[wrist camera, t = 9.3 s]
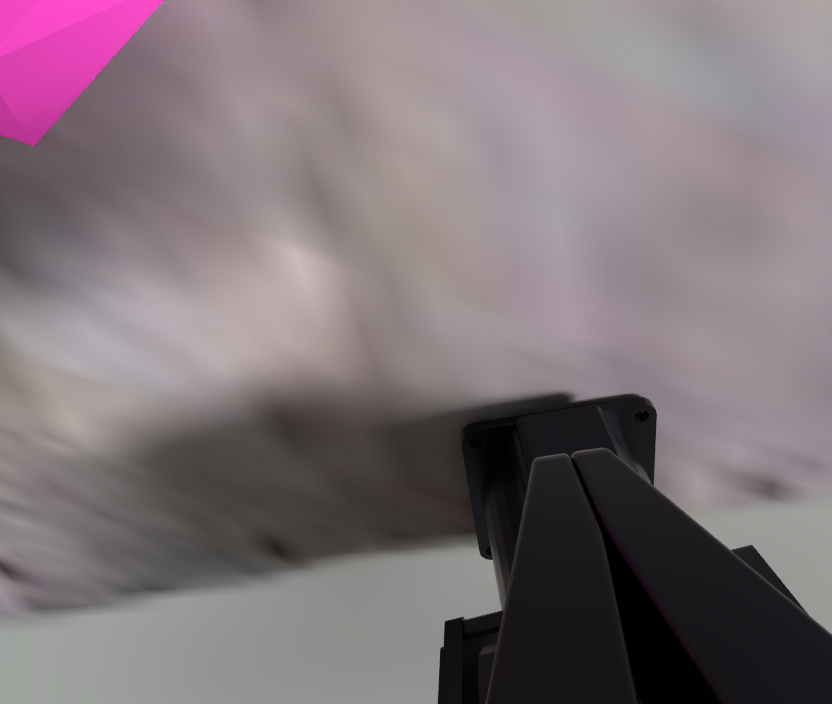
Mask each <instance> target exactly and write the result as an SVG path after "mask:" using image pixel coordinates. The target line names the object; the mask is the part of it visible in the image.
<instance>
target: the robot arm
mask: <svg viewBox="0 0 832 704" xmlns="http://www.w3.org/2000/svg"><path fill="white" fill-rule="evenodd" d="M639 411H644V412H643V413H642V414H639V415H635V414H636V413H637V412H639ZM656 418H657V414H656V410H655V408H654V406H653V404H652V402H651V401H650V400H649V399H646V398H644V397H637V398H631V399H625V400H618V401H612V402H605V403H599V404H593V405H586V406H580V407H573V408H567V409H561V410H554V411H548V412H542V413H535V414H529V415H522V416H516V417H510V418H503V419H497V420H490V421H484V422H478V423H472V424H469V425H467V426H466V427H464V428H463V430H462V431H461V443H462V449H463V455H464V461H465V467H466V473H467V479H468V485H469V491H470V497H471V503H472V509H473V515H474V521H475V527H476V533H477V539H478V545H479V551H480V554H481V556H482V557H484V558H485V559H489V560H493V563H494V568H495V575H496V580H497V585H498V592H499V597H500V603H501V608H502V611H498V612H495V613H491V614H486V615H482V616H478V617H474V618H470V619H466V620H465V619H464V617H460V618H457V619H452V620H448V621H445V630H444V647H442V648H441V650H440V669H439V670H440V671H439V691H438V704H832V634H831V633H829V632H828V631H827V630H826V629H825V628H823V627H822V626H821V625H820V624H819V623H817V622H816V621H815V620H814V619H813V618H811V617H810V616H809V615H808V614H807V612H806V611H805V610H804V609H803V608H802V606H801V605H800V604H799V602H798V601H797V600H796V599H795V597H794V596H793V595H792V594H791V593H790V591H789V590H788V589H787V588H786V586H785V585H784V584H783V583H782V581H781V580H780V579H779V578H778V576H777V575H776V574H775V573H774V572H773V570H772V569H771V568H770V567H769V565H768V564H767V563H766V562H765V560H764V559H763V558H762V557H761V555H760V554H759V553H758V552H757V550H756V549H755V548H754V547H753V546H752V545H749V546H745V547H741V548H737V549H733V550H730V549H728V548H727V547H726V546H725V545H724V544H722V543H721V542H720V541H719V540H718V539H716V538H715V537H714V536H713V535H711V534H710V533H709V532H708V531H707V530H705V529H704V528H703V527H702V526H701V525H699V524H698V523H697V522H696V521H695V520H693V519H692V518H691V517H690V516H689V515H687V514H686V513H685V512H684V511H683V510H681V509H680V508H679V507H678V506H677V505H675V504H674V503H673V502H672V501H671V500H669V499H668V498H667V497H666V496H665V495H663V494H662V493H661V492H660V491H659V490H657V489H656V488H655V487H654V464H655V441H656ZM475 436H480V437H481V438H480V439H478V440H471V438H472V437H475Z"/></svg>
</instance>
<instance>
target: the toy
mask: <svg viewBox="0 0 832 704" xmlns="http://www.w3.org/2000/svg"><path fill="white" fill-rule="evenodd" d="M163 1H164V0H0V136H3V137H6V138H9V139H12V140H15V141H18V142H21V143H25V144H28V145H31V146H35V145H36V144H37V142H38V141H39V140H40V139H41V138H42V137H43V136H44V135H45V133H46V132H47V131H48V130H49V129H50V128H51V127H52V126H53V124H54V123H55V122H56V121H57V120H58V119H59V118H60V117H61V115H62V114H63V113H64V112H65V111H66V110H67V109H68V108H69V106H70V105H71V104H72V103H73V102H74V101H75V100H76V99H77V97H78V96H79V95H80V94H81V93H82V92H83V91H84V89H85V88H86V87H87V86H88V85H89V84H90V83H91V82H92V80H93V79H94V78H95V77H96V76H97V75H98V74H99V73H100V71H101V70H102V69H103V68H104V67H105V66H106V65H107V64H108V62H109V61H110V60H111V59H112V58H113V57H114V56H115V55H116V53H117V52H118V51H119V50H120V49H121V48H122V47H123V46H124V44H125V43H126V42H127V41H128V40H129V39H130V38H131V37H132V35H133V34H134V33H135V32H136V31H137V30H138V29H139V28H140V26H141V25H142V24H143V23H144V22H145V21H146V20H147V19H148V17H149V16H150V15H151V14H152V13H153V12H154V11H155V10H156V8H157V7H158V6H159V5H160V4H161V3H162V2H163Z"/></svg>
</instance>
